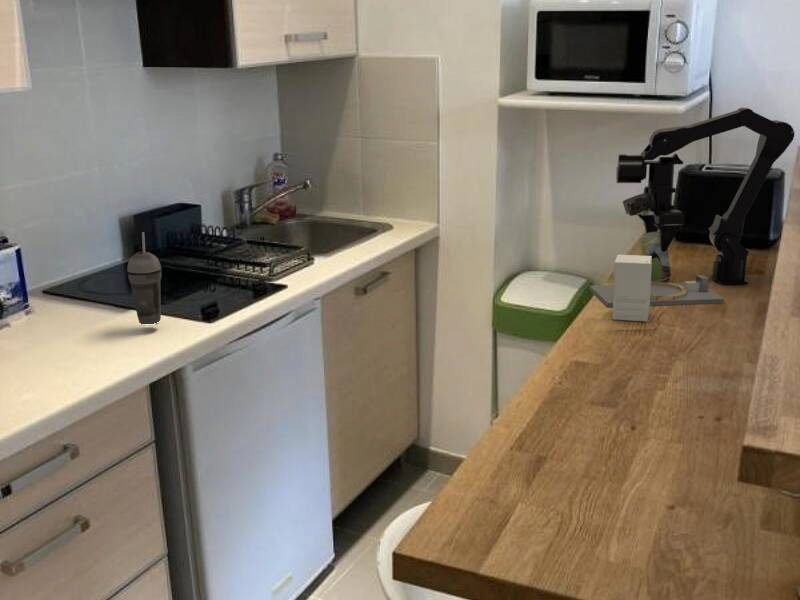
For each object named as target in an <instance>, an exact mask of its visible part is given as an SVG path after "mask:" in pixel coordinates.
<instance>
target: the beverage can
mask: <svg viewBox="0 0 800 600" xmlns="http://www.w3.org/2000/svg"><path fill="white" fill-rule="evenodd" d="M640 244H641V251H642V253H641V254H642V256H652V269H651V281H660V282H665V281H666V280H667V279H668V278H669V277H671V275H672V274H671V268H670V255H669V248H668V249H667V251H664V252H662V251H661V245H660V232H659V231H657V232H649V233H646V232H645V233H644V234H642V237H641V240H640Z"/></svg>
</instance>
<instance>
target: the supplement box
mask: <svg viewBox="0 0 800 600" xmlns="http://www.w3.org/2000/svg"><path fill="white" fill-rule="evenodd" d="M613 266H614V267H613V268H614V269H613V285H614V291H613V307H612V320H616V321H617V320H618V321H629V322H630V321H632V322H647V323H648V320H649V317H650V316H649V315H650V307H651V306H650V289H651V269H652V256H643V255H639V254H638V255H637V254H635V255H634V254H631V255H630V254H617V256H616V258H615V260H614V263H613Z"/></svg>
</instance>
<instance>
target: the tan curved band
mask: <svg viewBox="0 0 800 600" xmlns="http://www.w3.org/2000/svg"><path fill="white" fill-rule="evenodd" d="M709 280H710V279H709V277H707V276H705V275H704V274H696V275H695V280H687V281H686V280H684V281H683V282H684V287H683V286H681V285H678V284H673V283H674V282H667V281H651V285H656V286H666V287H670V288H674V289H678V290H679V291H681V293H678V294H674V295H666V296H654V295H650V300H675V299H679V298H683V297H685V296H686V295H687V292H708V289H709V283H710V282H709ZM613 291H614V286H613Z"/></svg>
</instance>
